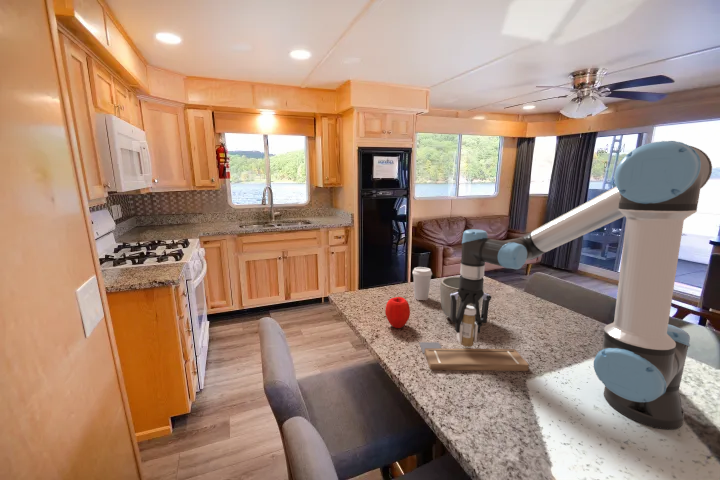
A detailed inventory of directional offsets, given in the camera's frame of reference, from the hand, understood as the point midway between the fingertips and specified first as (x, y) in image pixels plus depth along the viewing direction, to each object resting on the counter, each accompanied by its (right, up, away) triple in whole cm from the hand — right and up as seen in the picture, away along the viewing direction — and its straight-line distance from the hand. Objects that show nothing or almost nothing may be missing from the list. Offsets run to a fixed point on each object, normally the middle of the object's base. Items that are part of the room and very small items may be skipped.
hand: (466, 340), depth 106 cm
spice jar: (0, -1, 0) cm, 1 cm away
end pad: (-12, -3, 0) cm, 13 cm away
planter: (+5, +1, +23) cm, 24 cm away
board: (0, -4, -8) cm, 9 cm away
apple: (-22, 0, +17) cm, 28 cm away
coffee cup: (-7, +6, +46) cm, 47 cm away
